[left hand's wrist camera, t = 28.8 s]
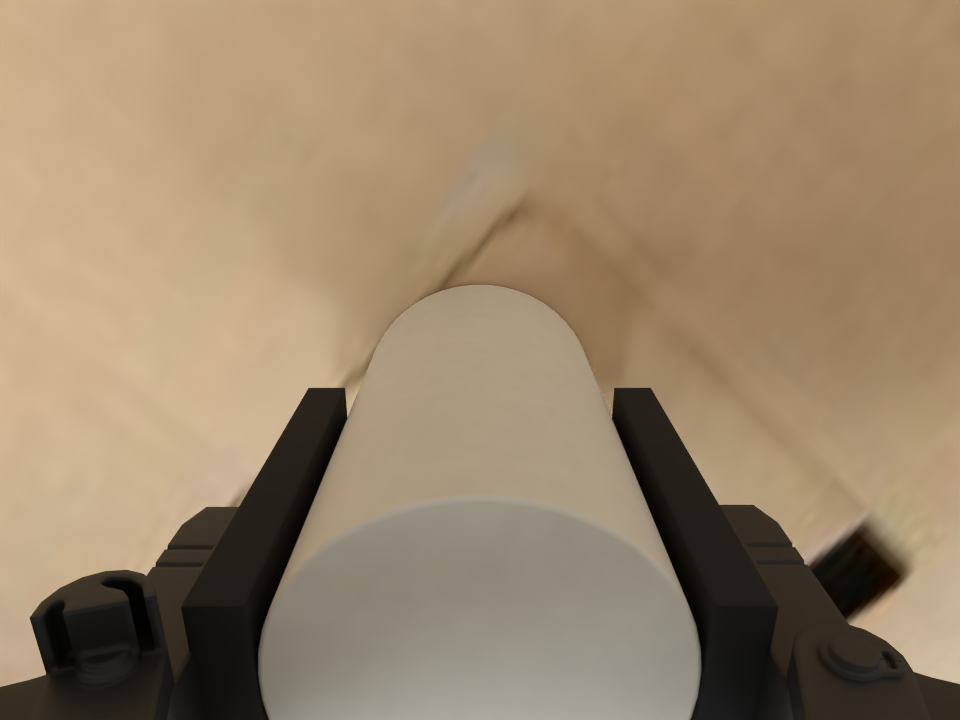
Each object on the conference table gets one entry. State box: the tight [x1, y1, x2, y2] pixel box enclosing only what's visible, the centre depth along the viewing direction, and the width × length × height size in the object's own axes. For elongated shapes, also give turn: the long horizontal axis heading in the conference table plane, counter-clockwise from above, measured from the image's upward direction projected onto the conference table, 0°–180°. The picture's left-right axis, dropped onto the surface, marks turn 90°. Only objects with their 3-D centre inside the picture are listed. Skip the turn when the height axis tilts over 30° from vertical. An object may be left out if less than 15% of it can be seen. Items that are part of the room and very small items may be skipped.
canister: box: [258, 285, 702, 720], centre depth 13 cm, size 6×6×9 cm
